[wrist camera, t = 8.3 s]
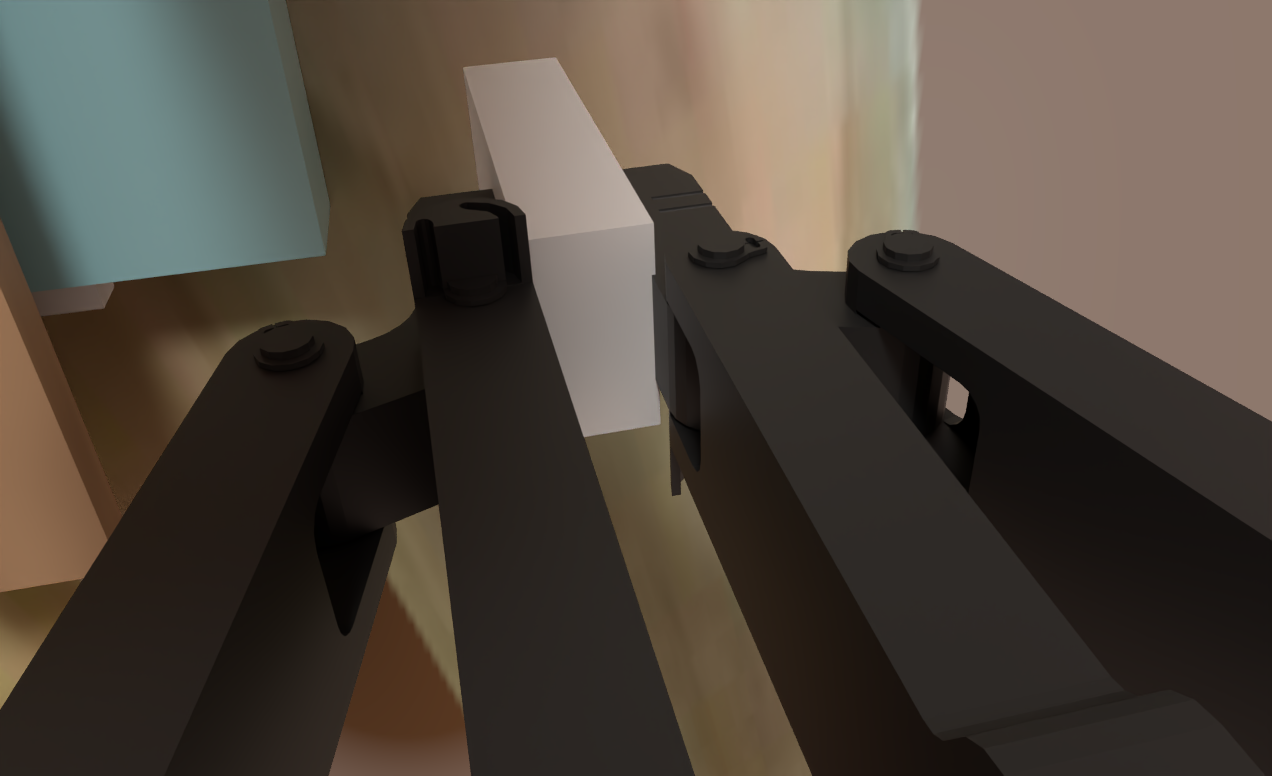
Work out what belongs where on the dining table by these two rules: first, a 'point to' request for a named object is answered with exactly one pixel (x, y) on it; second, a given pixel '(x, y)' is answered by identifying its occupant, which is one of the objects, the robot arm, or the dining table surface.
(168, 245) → the slate blue rectangular box
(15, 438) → the overhang
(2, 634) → the dining table surface
